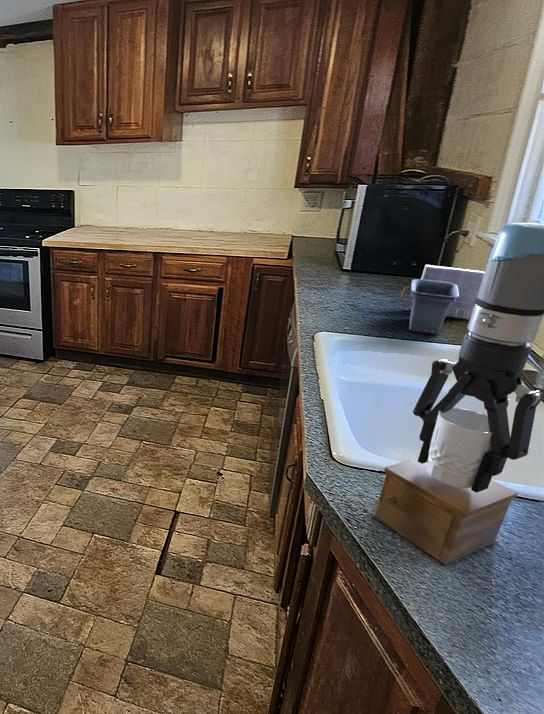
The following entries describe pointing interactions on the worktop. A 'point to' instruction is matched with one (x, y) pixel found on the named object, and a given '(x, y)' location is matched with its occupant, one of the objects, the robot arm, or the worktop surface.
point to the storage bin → (430, 304)
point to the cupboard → (441, 511)
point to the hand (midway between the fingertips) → (451, 474)
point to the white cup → (458, 447)
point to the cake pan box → (466, 285)
